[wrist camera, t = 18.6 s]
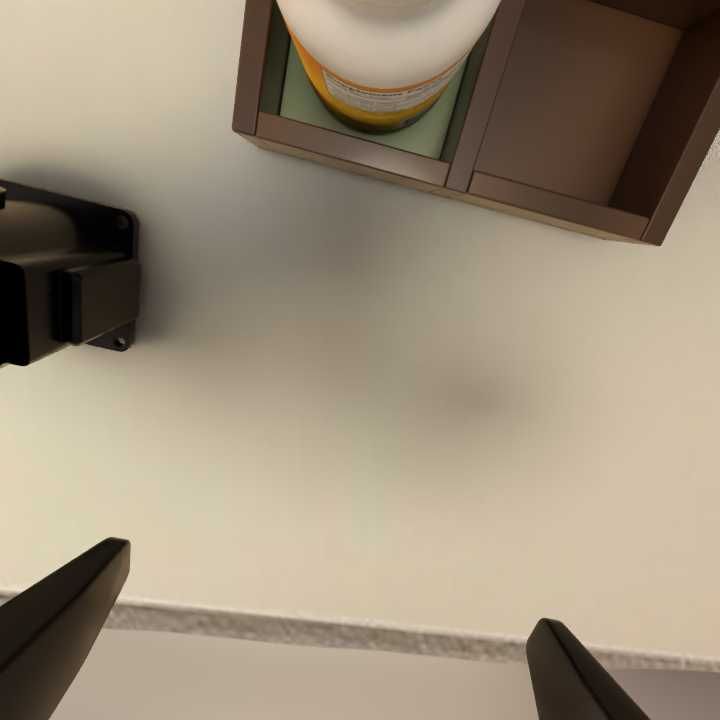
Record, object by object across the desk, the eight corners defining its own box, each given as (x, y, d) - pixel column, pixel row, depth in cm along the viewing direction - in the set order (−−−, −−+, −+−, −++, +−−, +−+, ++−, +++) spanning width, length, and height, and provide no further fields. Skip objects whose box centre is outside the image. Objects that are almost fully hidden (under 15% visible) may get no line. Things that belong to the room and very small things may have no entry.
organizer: (257, 147, 16) (230, 130, 13) (292, -116, 13) (269, -224, 10) (604, 240, 17) (661, 246, 14) (704, 16, 14) (804, -41, 11)
